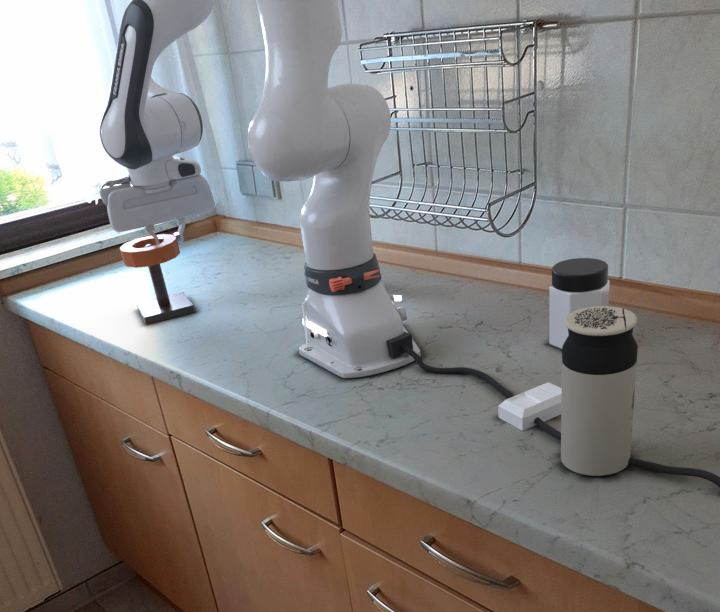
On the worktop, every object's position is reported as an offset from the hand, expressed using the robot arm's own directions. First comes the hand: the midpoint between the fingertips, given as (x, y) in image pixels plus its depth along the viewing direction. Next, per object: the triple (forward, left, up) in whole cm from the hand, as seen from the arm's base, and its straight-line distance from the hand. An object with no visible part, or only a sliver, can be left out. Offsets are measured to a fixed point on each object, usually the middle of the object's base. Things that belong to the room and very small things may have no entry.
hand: (170, 244), depth 156 cm
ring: (0, +4, -2) cm, 5 cm away
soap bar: (-80, -32, -13) cm, 87 cm away
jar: (-64, -50, -13) cm, 82 cm away
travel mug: (-94, -31, -13) cm, 100 cm away
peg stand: (0, +4, -13) cm, 13 cm away
